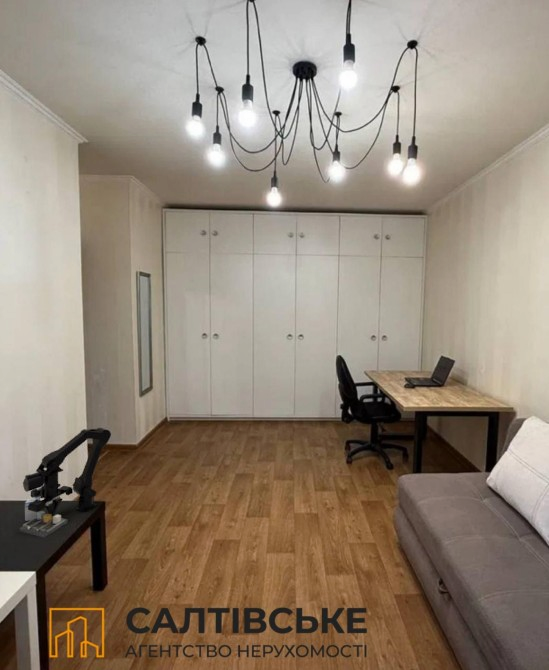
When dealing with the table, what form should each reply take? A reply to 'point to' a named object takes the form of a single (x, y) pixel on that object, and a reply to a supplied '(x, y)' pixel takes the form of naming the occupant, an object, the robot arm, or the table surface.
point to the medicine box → (29, 514)
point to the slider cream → (56, 519)
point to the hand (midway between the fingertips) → (51, 516)
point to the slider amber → (47, 518)
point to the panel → (41, 527)
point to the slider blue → (40, 515)
